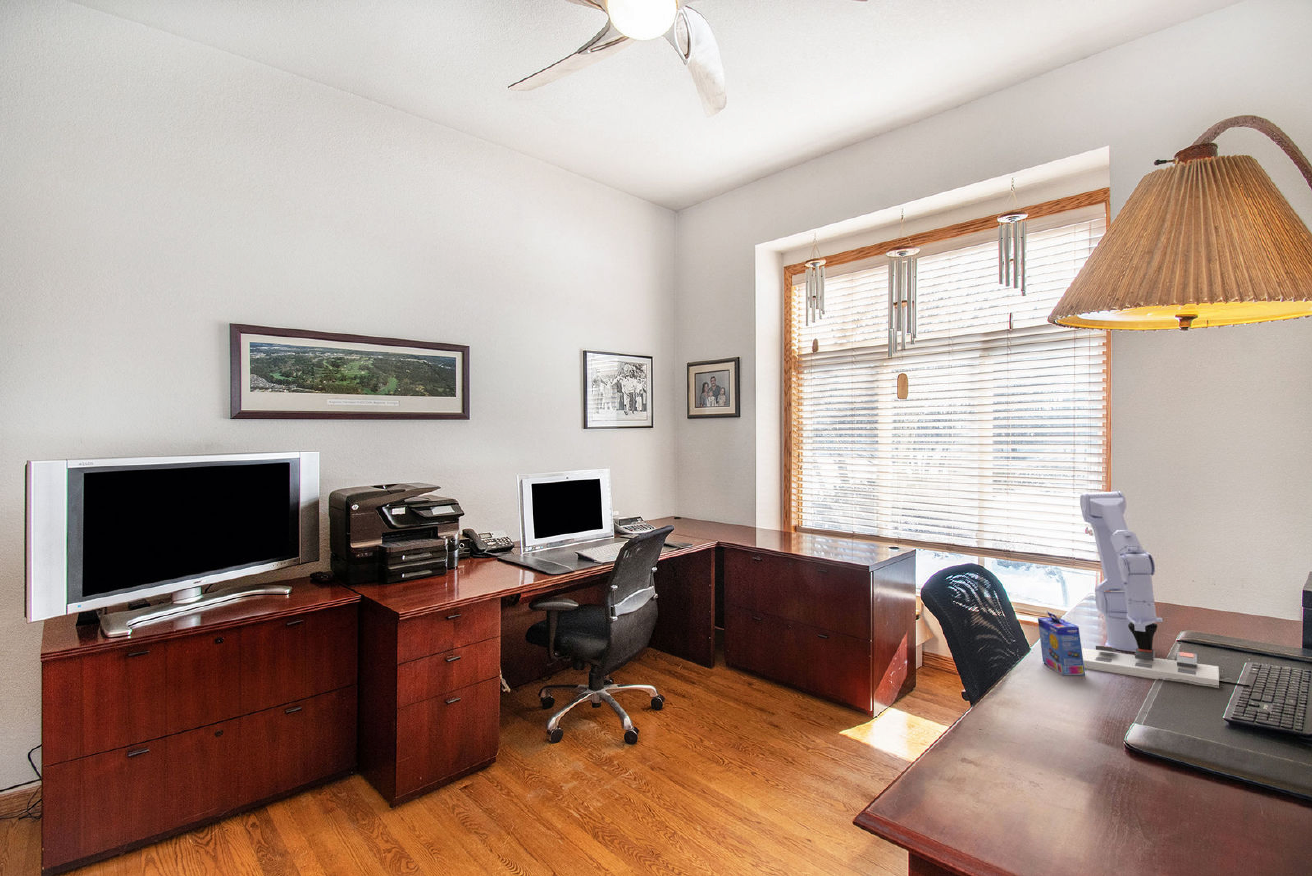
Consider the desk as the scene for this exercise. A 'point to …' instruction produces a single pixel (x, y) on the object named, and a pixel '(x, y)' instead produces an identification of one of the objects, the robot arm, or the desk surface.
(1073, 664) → the ink cartridge box
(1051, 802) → the desk surface
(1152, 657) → the rocker middle
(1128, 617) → the robot arm
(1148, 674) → the power strip
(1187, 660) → the block
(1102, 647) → the rocker far end
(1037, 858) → the desk surface
